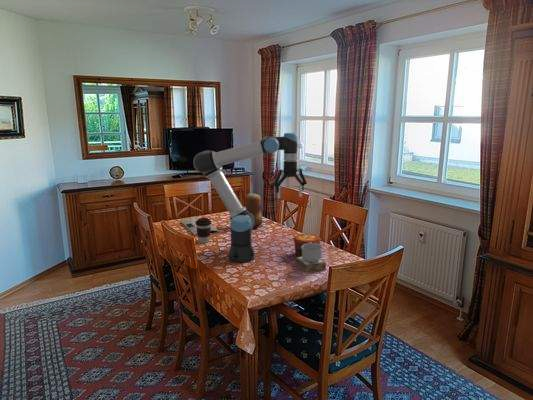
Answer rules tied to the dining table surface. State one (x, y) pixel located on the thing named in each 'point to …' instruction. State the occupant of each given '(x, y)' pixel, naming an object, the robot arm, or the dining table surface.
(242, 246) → the robot arm
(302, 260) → the pedestal
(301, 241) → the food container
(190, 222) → the newspaper
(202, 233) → the coffee cup
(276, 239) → the dining table surface
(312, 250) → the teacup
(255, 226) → the butternut squash
